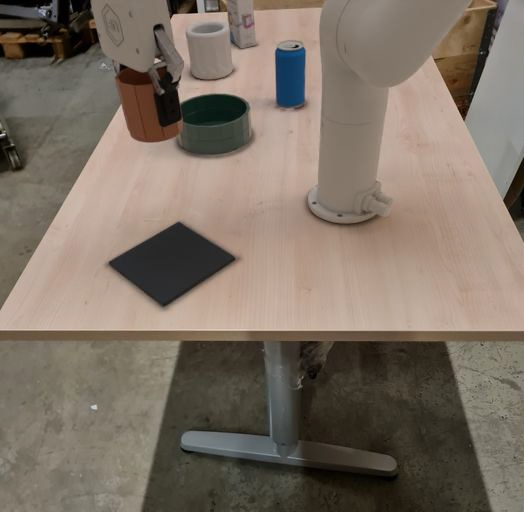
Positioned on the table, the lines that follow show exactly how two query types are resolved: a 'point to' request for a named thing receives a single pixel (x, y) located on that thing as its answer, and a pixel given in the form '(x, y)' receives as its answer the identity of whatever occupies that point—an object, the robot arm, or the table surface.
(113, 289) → the table surface
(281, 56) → the beverage can
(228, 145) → the green pot
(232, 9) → the ink box
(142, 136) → the copper pot
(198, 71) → the mug
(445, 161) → the table surface
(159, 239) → the rubber mat
